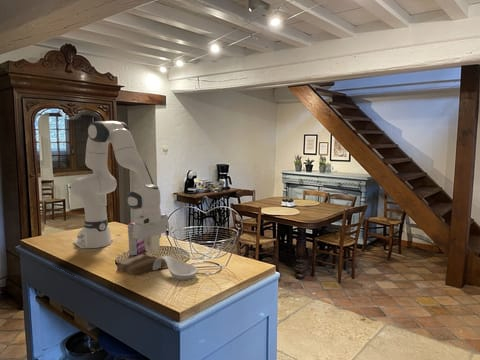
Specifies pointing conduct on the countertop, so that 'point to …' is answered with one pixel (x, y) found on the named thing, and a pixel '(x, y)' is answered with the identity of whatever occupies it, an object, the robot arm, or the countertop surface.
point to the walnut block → (137, 264)
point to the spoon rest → (177, 268)
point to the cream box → (153, 243)
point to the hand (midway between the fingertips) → (152, 244)
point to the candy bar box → (135, 242)
